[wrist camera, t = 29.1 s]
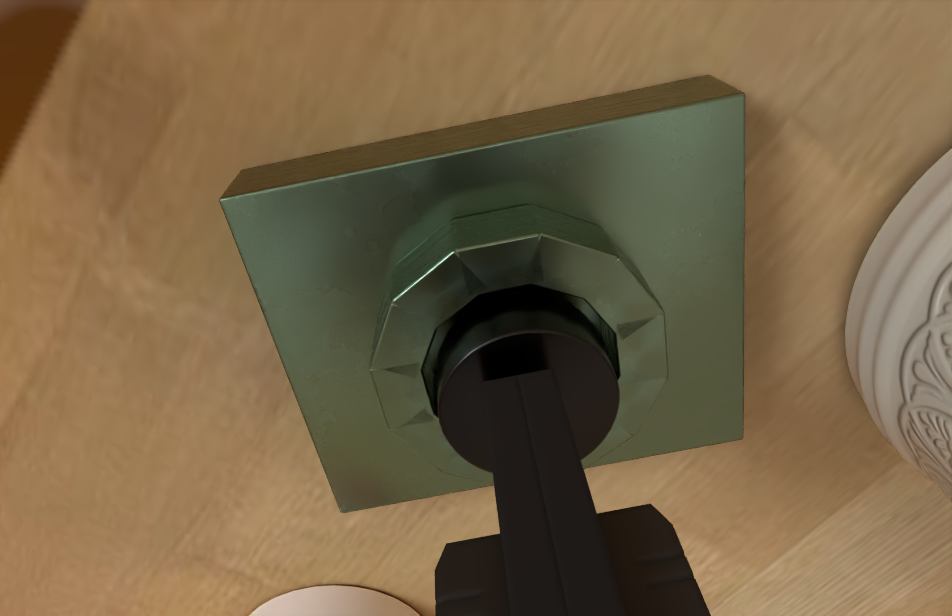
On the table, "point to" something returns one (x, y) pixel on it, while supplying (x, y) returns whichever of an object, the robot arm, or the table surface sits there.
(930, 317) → the jar
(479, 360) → the button
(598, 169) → the button box
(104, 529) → the table surface
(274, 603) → the pill bottle
